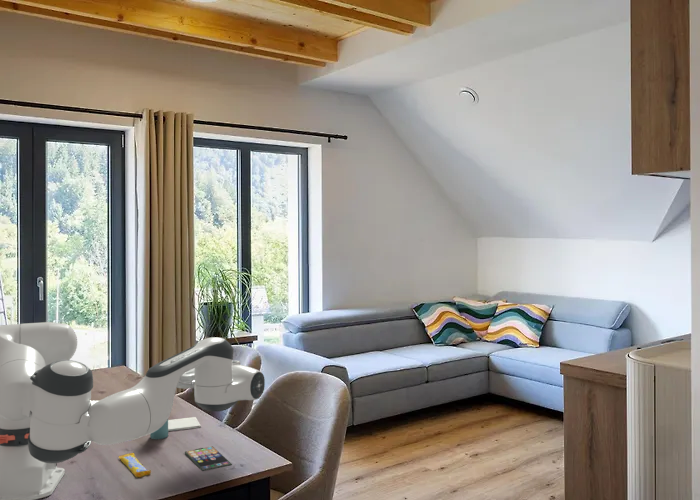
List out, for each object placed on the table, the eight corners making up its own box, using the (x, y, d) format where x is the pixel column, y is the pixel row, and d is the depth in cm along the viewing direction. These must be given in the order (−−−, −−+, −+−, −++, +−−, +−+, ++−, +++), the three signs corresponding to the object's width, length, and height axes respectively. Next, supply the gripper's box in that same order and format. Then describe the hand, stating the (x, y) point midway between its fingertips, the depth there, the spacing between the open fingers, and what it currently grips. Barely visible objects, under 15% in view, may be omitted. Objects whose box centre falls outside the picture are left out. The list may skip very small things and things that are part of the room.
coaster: (200, 427, 202) (200, 425, 202) (168, 431, 198) (168, 429, 198) (195, 418, 211) (195, 416, 211) (164, 422, 207) (164, 420, 207)
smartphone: (202, 472, 165) (202, 468, 165) (184, 455, 178) (184, 450, 178) (232, 466, 169) (232, 462, 169) (212, 449, 182) (212, 445, 182)
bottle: (169, 437, 192) (168, 387, 191) (151, 440, 190) (150, 389, 189) (167, 432, 196) (166, 383, 196) (149, 435, 194) (148, 385, 194)
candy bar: (152, 477, 162) (152, 469, 162) (135, 480, 160) (135, 473, 160) (134, 457, 176) (133, 450, 176) (118, 460, 174) (118, 454, 174)
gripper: (188, 396, 169) (155, 389, 177) (244, 381, 185) (212, 375, 193) (187, 373, 168) (154, 366, 177) (244, 360, 185) (211, 354, 193)
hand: (185, 370), depth 185 cm, fingers open, 8 cm apart
